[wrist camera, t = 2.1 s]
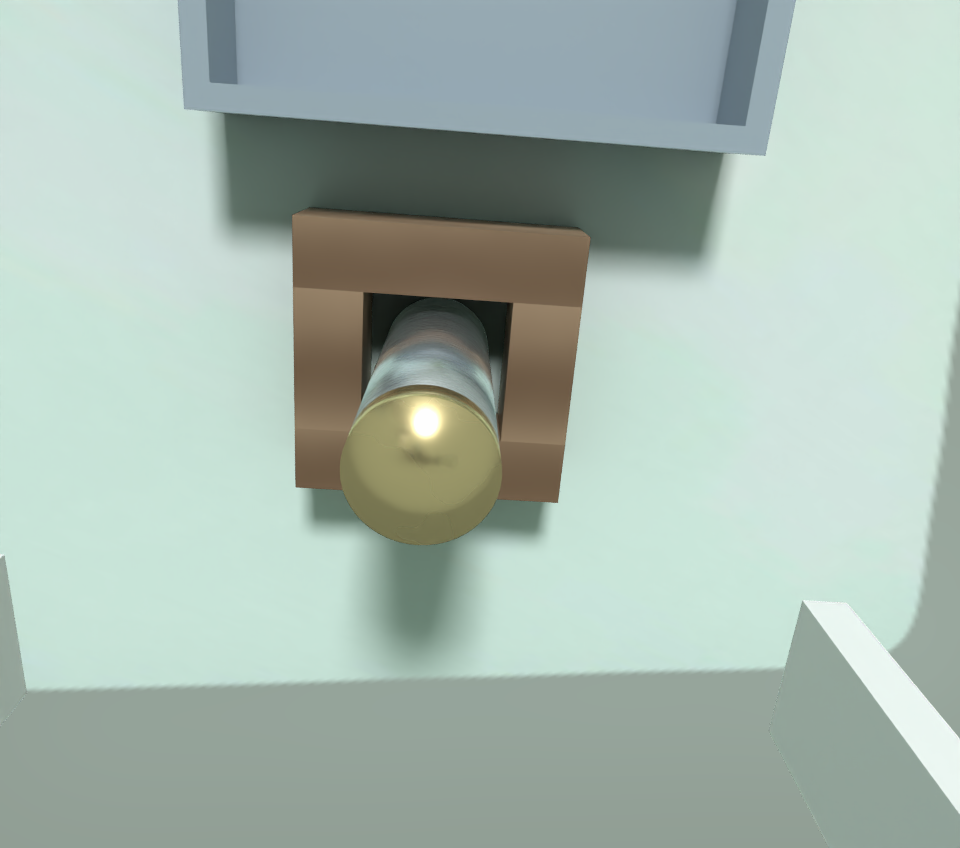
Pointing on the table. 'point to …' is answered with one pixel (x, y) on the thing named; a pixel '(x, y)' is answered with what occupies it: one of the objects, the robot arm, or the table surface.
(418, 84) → the tray
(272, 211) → the table surface
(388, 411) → the pin
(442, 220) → the socket block
